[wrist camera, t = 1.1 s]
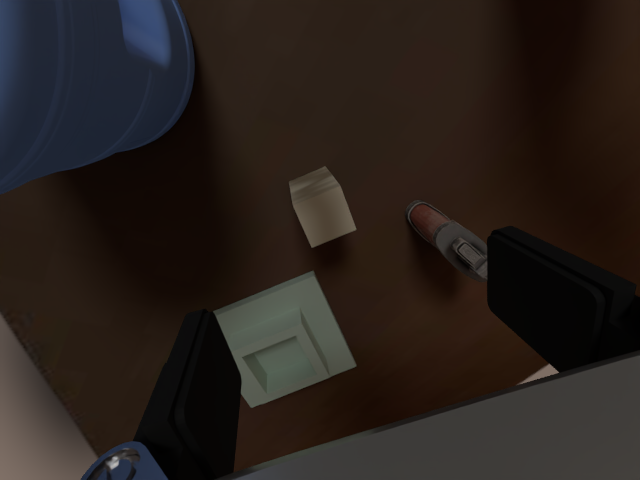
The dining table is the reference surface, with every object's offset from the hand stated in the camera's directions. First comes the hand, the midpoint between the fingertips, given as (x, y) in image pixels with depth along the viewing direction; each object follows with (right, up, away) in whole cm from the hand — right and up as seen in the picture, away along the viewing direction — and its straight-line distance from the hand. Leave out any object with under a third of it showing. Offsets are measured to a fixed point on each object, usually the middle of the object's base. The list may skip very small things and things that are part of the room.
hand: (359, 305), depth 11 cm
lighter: (+11, +4, +26) cm, 29 cm away
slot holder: (-6, -10, +29) cm, 32 cm away
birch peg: (-2, +7, +22) cm, 24 cm away
